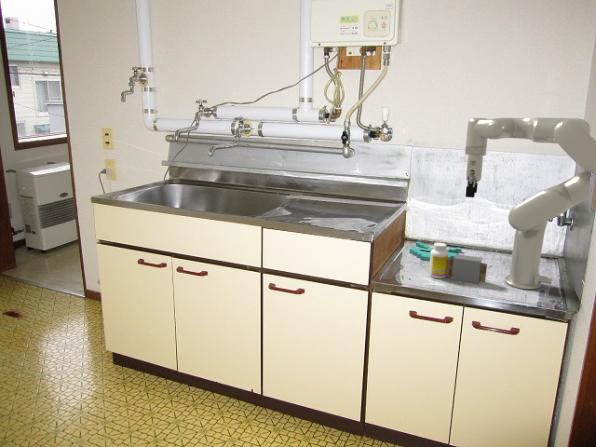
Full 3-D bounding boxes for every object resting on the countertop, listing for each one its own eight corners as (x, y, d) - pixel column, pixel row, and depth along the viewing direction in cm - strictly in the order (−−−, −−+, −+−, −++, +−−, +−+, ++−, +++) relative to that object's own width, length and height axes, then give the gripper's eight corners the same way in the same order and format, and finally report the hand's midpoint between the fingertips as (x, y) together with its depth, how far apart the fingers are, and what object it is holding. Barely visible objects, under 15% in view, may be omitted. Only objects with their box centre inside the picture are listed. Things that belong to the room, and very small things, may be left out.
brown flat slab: (485, 281, 182) (487, 263, 181) (484, 282, 181) (486, 264, 179) (446, 275, 188) (448, 258, 186) (446, 276, 187) (447, 259, 185)
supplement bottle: (449, 278, 186) (452, 246, 183) (433, 279, 185) (436, 247, 182) (441, 272, 193) (444, 241, 189) (425, 273, 192) (428, 242, 188)
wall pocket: (479, 280, 185) (481, 257, 183) (478, 284, 181) (480, 261, 178) (453, 276, 189) (455, 254, 187) (451, 280, 184) (453, 257, 182)
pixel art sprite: (416, 246, 227) (405, 258, 210) (417, 241, 227) (405, 253, 210) (461, 252, 218) (452, 266, 201) (461, 248, 218) (452, 261, 201)
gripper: (484, 153, 177) (479, 200, 181) (487, 149, 192) (483, 191, 196) (462, 152, 180) (458, 198, 184) (467, 148, 195) (463, 190, 199)
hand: (471, 194), depth 190 cm, fingers open, 9 cm apart
